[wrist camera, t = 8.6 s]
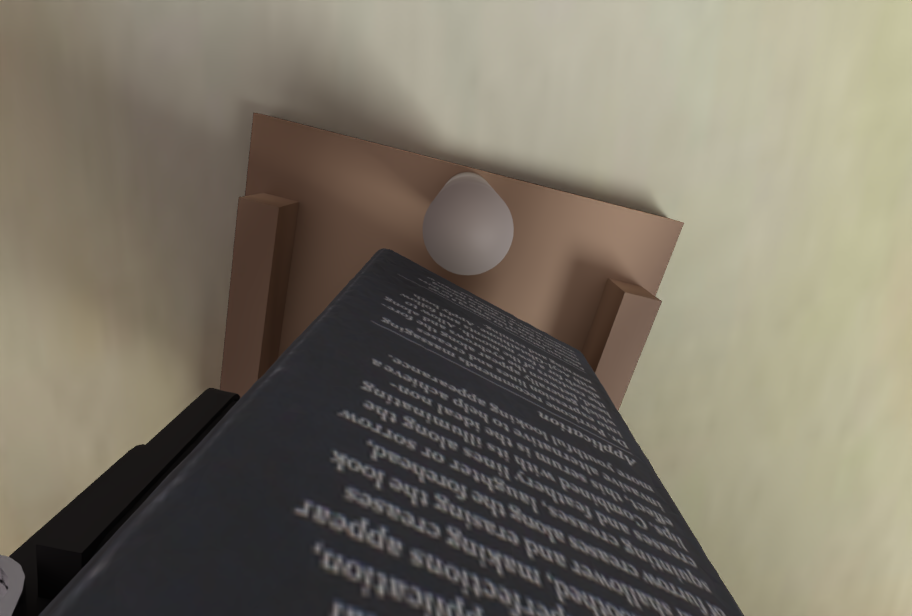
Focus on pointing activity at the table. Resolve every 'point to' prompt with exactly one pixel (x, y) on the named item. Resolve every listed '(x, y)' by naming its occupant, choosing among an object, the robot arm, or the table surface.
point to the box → (409, 482)
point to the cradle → (432, 247)
